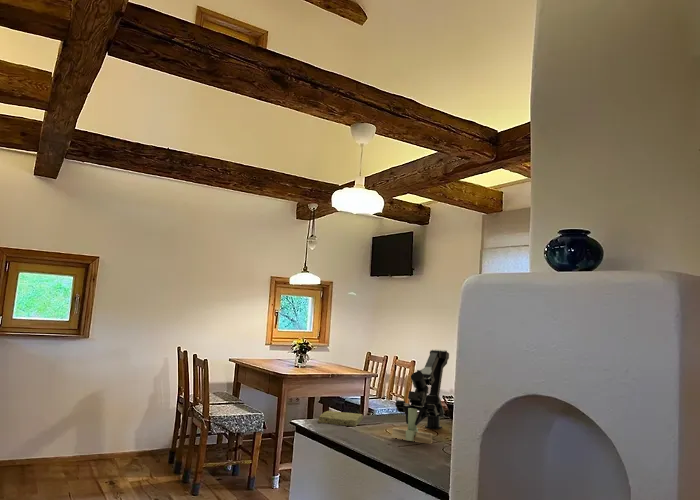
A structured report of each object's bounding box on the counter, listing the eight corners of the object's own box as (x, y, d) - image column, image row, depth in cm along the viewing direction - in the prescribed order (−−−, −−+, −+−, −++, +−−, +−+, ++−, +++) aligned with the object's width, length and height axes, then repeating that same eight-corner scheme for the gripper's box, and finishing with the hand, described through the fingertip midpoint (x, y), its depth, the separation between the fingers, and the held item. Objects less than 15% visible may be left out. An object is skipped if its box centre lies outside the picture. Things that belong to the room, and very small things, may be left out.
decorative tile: (325, 416, 282) (325, 409, 283) (363, 419, 278) (363, 412, 279) (316, 424, 264) (316, 416, 265) (356, 427, 260) (356, 419, 260)
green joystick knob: (410, 436, 242) (411, 406, 243) (419, 437, 240) (420, 407, 241) (404, 439, 235) (405, 409, 236) (413, 441, 233) (413, 410, 234)
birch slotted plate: (394, 436, 242) (394, 427, 243) (432, 442, 234) (432, 433, 235) (392, 437, 240) (392, 428, 240) (430, 444, 232) (430, 434, 232)
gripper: (397, 382, 247) (387, 410, 236) (436, 386, 239) (427, 415, 228) (402, 397, 253) (393, 425, 243) (440, 401, 245) (432, 431, 234)
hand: (411, 424), depth 237 cm, fingers closed on green joystick knob, 4 cm apart
